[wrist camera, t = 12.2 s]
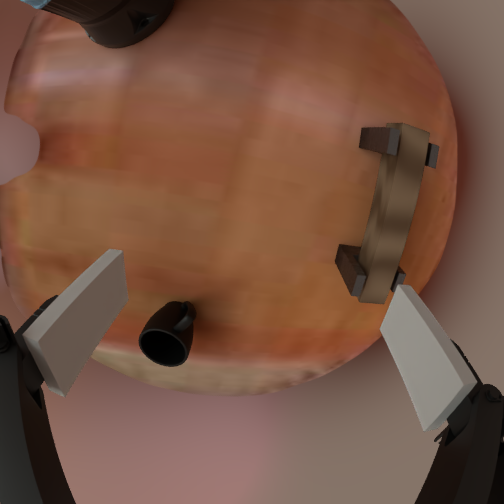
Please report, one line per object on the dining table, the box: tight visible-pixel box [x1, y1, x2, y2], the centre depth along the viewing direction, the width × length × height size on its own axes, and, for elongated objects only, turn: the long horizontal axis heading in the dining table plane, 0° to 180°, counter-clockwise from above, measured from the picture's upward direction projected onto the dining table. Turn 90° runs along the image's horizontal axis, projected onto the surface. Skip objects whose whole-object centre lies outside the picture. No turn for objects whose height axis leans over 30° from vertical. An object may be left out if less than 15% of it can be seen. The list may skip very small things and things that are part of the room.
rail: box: [357, 123, 430, 304], centre depth 33 cm, size 24×4×5 cm, turn 173°
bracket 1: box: [359, 127, 439, 168], centre depth 31 cm, size 3×8×10 cm, turn 83°
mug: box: [139, 301, 196, 367], centre depth 44 cm, size 8×12×10 cm
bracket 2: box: [335, 244, 406, 296], centre depth 38 cm, size 3×8×10 cm, turn 83°
